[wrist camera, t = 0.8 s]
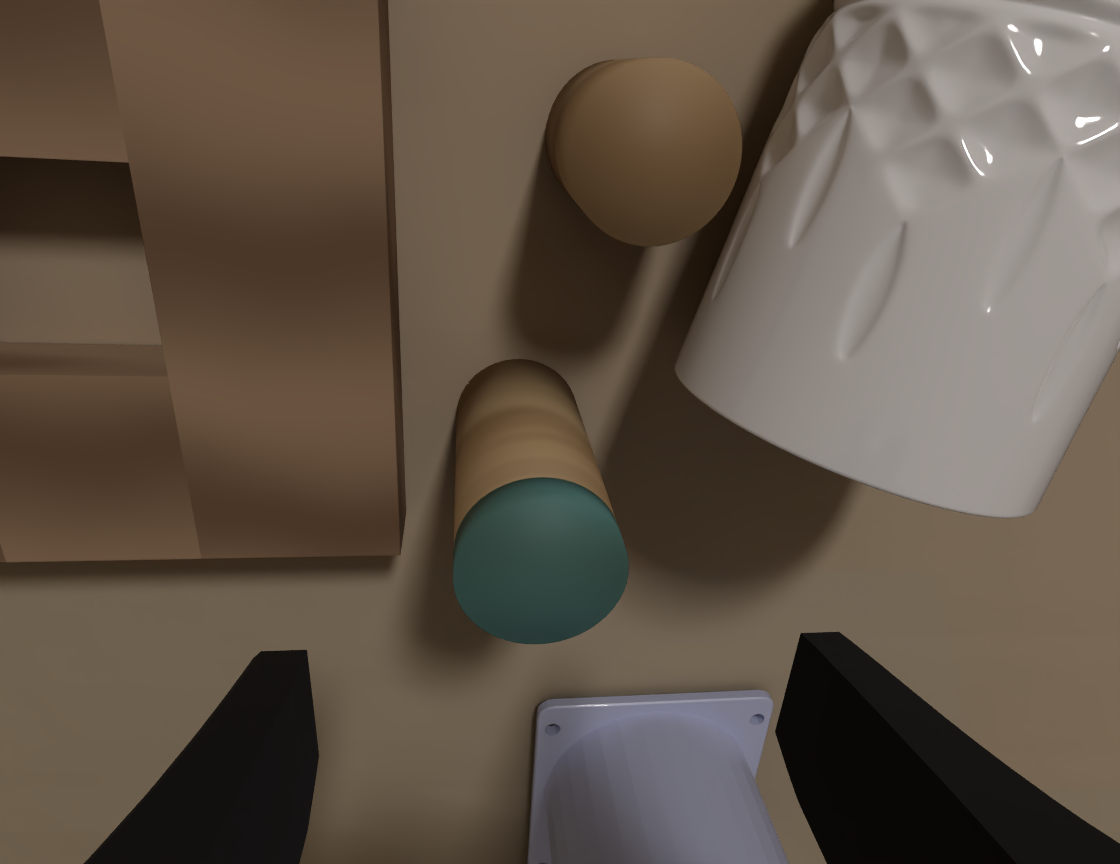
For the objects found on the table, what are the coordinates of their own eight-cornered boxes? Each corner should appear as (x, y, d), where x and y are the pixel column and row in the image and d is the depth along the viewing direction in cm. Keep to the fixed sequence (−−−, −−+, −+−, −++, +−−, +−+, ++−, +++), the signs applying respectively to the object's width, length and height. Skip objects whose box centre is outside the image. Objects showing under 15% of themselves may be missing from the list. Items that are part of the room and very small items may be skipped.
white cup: (819, -82, 16) (671, 335, 20) (946, -295, 9) (676, 426, 13) (1159, 20, 16) (949, 423, 20) (1571, -112, 9) (1120, 569, 12)
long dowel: (572, 468, 20) (619, 641, 14) (456, 468, 20) (453, 646, 14) (580, 360, 19) (637, 499, 13) (456, 358, 19) (452, 500, 12)
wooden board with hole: (406, 512, 20) (400, 555, 19) (-156, 519, 19) (-222, 566, 17) (384, -95, 14) (373, -119, 13) (-453, -175, 12) (-605, -217, 11)
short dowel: (673, 212, 18) (726, 249, 14) (542, 206, 17) (562, 243, 14) (692, 64, 16) (756, 64, 13) (549, 54, 16) (574, 50, 12)
